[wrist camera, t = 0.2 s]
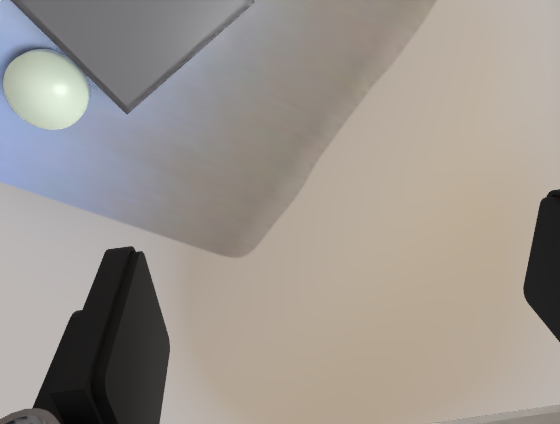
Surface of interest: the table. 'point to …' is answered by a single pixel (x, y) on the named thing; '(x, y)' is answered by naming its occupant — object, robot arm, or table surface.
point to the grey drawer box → (131, 38)
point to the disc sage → (46, 89)
